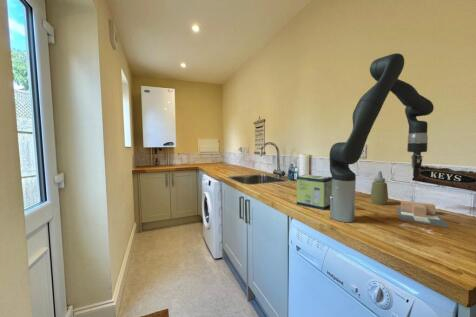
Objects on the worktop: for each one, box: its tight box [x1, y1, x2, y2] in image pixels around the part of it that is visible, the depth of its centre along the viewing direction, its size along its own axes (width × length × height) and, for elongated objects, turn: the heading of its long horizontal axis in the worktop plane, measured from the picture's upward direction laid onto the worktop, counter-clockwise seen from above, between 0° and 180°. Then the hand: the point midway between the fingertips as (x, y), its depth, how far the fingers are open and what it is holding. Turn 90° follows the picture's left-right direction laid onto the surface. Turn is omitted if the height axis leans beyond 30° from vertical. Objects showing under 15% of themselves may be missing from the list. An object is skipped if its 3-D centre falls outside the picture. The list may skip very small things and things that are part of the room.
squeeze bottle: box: [369, 170, 389, 206], centre depth 113 cm, size 8×8×18 cm
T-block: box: [400, 200, 436, 217], centre depth 96 cm, size 12×11×4 cm
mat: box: [396, 206, 450, 229], centre depth 93 cm, size 15×23×1 cm, turn 146°
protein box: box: [296, 174, 332, 211], centre depth 112 cm, size 10×16×16 cm
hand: (415, 176), depth 105 cm, fingers closed
